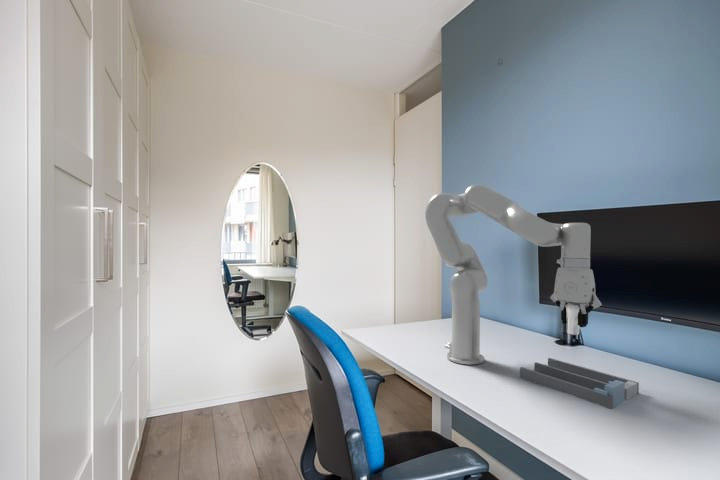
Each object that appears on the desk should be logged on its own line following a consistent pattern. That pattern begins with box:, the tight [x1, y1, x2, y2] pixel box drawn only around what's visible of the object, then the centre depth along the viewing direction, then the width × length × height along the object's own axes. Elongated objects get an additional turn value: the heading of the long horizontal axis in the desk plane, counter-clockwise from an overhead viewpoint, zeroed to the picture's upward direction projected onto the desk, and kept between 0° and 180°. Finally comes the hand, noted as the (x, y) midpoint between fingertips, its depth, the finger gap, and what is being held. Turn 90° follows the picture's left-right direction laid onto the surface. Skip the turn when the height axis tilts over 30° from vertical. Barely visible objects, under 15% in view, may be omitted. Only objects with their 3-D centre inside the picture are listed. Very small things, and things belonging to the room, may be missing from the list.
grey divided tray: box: [519, 357, 640, 410], centre depth 107 cm, size 25×17×5 cm
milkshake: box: [566, 302, 581, 336], centre depth 110 cm, size 5×5×10 cm
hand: (574, 324), depth 110 cm, fingers closed on milkshake, 4 cm apart
